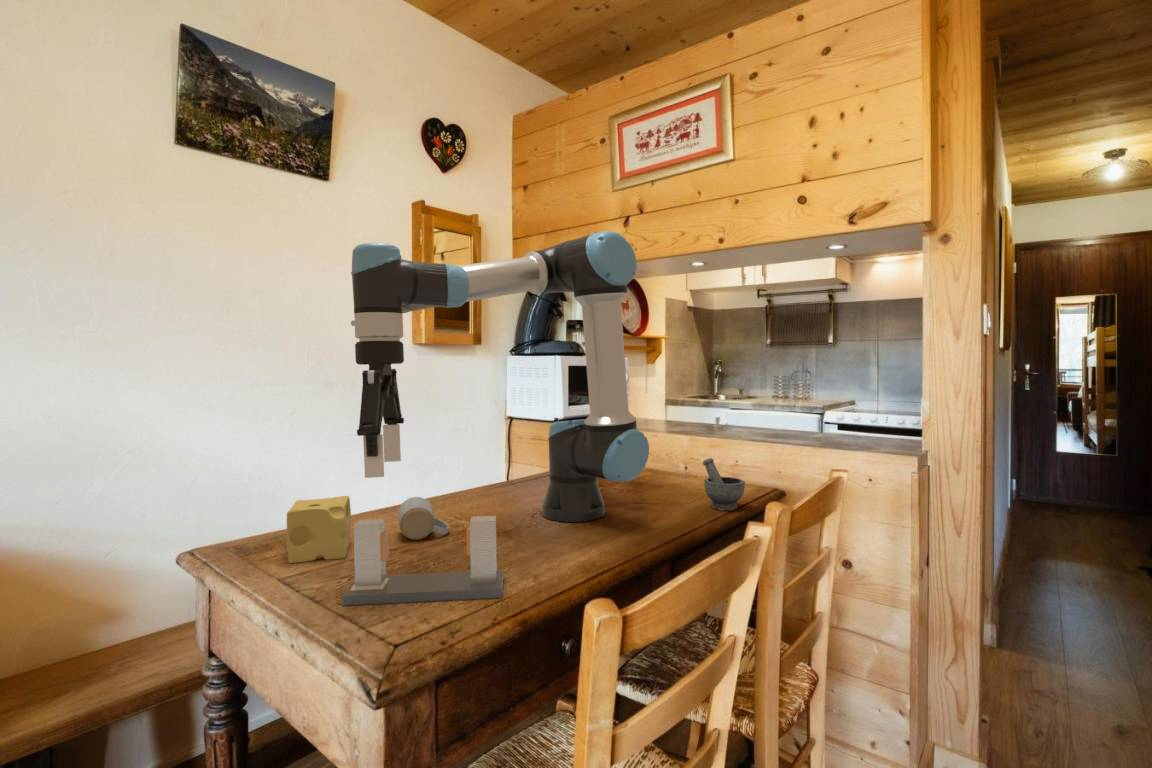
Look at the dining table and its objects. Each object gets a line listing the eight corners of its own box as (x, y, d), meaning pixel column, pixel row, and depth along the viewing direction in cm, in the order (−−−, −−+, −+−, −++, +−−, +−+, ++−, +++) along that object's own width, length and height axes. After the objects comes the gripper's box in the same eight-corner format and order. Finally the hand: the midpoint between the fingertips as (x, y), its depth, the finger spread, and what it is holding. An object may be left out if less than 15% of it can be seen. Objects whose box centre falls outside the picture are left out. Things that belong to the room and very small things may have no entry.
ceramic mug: (399, 543, 116) (399, 506, 116) (397, 532, 124) (397, 497, 124) (451, 538, 120) (451, 502, 120) (447, 528, 128) (447, 494, 127)
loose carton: (389, 579, 92) (388, 518, 92) (385, 587, 89) (383, 524, 89) (360, 581, 92) (359, 519, 92) (355, 588, 89) (353, 525, 89)
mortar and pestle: (751, 508, 143) (752, 460, 142) (729, 514, 137) (730, 465, 136) (714, 500, 151) (714, 455, 151) (692, 505, 145) (692, 459, 145)
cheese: (346, 559, 107) (345, 506, 107) (284, 565, 104) (282, 511, 104) (352, 542, 117) (351, 494, 117) (294, 547, 114) (293, 498, 114)
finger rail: (503, 578, 97) (502, 511, 96) (502, 597, 89) (501, 524, 88) (357, 585, 94) (356, 516, 94) (342, 605, 86) (341, 530, 86)
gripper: (373, 342, 105) (378, 456, 106) (332, 337, 80) (338, 486, 81) (415, 342, 106) (419, 454, 107) (386, 336, 81) (392, 483, 82)
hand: (384, 468), depth 94 cm, fingers open, 13 cm apart
